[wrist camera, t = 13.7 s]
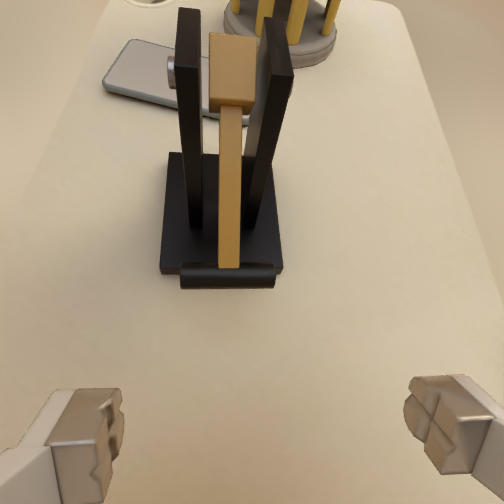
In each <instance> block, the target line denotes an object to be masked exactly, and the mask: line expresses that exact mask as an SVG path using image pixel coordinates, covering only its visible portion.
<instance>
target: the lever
mask: <svg viewBox="0 0 504 504" xmlns="http://www.w3.org/2000/svg"><path fill="white" fill-rule="evenodd" d="M256 75H257V38H256V37H249V36H239V35H230V34H220V33H209V113H217V114H219V198H218V262H182V263H181V267H180V287H181V289H264V288H274V286H275V280H276V271H275V266H274V263H272V262H239V252H240V205H241V158H242V115H246V116H248V115H249V114H250V112H251V110H252V108H253V106H254V104H255V101H256Z"/></svg>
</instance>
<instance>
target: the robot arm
mask: <svg viewBox="0 0 504 504" xmlns="http://www.w3.org/2000/svg"><path fill="white" fill-rule="evenodd" d="M409 390H410V392H411V395H410V396H409V397H408V398H407V399H406V400H405V404H404V408H403V412H404V418H405V422H406V424H407V426H408V428H409V430H410V431H411V433H412V434H413V436H414V437H416V438H417V439H419V440H420V441H422V442H423V443H424V452H425V453H426V454H427V456H428V457H429V459H430V460H431V462H432V463H433V464H434V466H435V467H436V469H437V470H438V471H439V473H440V474H441V475H450V474H471V473H472V475H471V476H473V477H474V478H475V479H477V480H478V481H479V482H480V483H482V484H483V485H484V486H485V487H487V488H488V489H489V490H491V491H492V492H493V493H494V494H496V495H497V496H498V497H499V498H501V499H502V500H503V501H504V407H503V406H501V405H500V404H499V403H498V402H497V401H496V400H495V399H494V398H492V397H491V396H490V395H489V394H488V393H487V392H486V391H484V390H483V389H482V388H481V387H480V386H479V385H478V384H477V383H475V382H474V381H473V380H472V379H471V378H470V377H468V376H466V375H464V374H454V375H441V376H419V377H413V379H412V380H411V381H410V384H409ZM121 403H122V393H121V390H120V389H119V388H89V389H57V390H56V391H54V392H53V393H52V394H51V395H50V397H49V398H48V400H47V401H46V403H45V404H44V406H43V407H42V409H41V410H40V412H39V413H38V415H37V416H36V418H35V419H34V421H33V422H32V424H31V425H30V427H29V428H28V430H27V431H26V433H25V434H24V435H23V437H22V438H21V440H20V441H19V443H18V444H17V446H16V447H15V448H8V449H6V450H5V451H3V452H2V453H0V504H102V503H104V500H105V497H106V493H107V490H108V487H109V484H110V481H111V478H112V474H113V471H112V461H113V460H114V459H115V458H116V457H117V456H118V455H119V452H120V448H121V445H122V440H123V434H124V414H123V413H122V412H121V411H120V410H119V409H120V406H121Z"/></svg>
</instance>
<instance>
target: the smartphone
mask: <svg viewBox="0 0 504 504" xmlns="http://www.w3.org/2000/svg"><path fill="white" fill-rule="evenodd" d="M174 55H175V49H172V48H169V47H165V46H161V45H157V44H153V43H150V42H146V41H142V40H138V39H132V40H129V41H128V43H127V44H126V45H125V47H124V48H123V50H122V51H121V53H120V54H119V56H118V57H117V59H116V60H115V62H114V63H113V65H112V66H111V68H110V69H109V71H108V72H107V74H106V75H105V77H104V78H103V80H102V84H103V87H104V88H105V89H106V90H107V91H110V92H114V93H118V94H122V95H126V96H130V97H134V98H138V99H142V100H146V101H150V102H154V103H158V104H162V105H166V106H169V107H173V108H177V109H178V106H177V96H176V90H173V89H170V88H169V85H168V77H167V58H168V56H174ZM201 70H202V115H205V116H209V117H213V118H217V119H219V114H217V113H209V58H207V57H203V56H201ZM249 116H250V114H249V115H248V116H246V115H242V125H248V123H249Z"/></svg>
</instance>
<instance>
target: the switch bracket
mask: <svg viewBox="0 0 504 504" xmlns="http://www.w3.org/2000/svg"><path fill="white" fill-rule="evenodd" d="M167 77H168V85H169V88H170V89H173V90H176V96H177V106H178V116H179V126H180V136H181V146H182V153H180V152H169V158H168V170H167V182H166V194H165V206H164V218H163V230H162V242H161V254H160V267H159V268H160V271H161V274H180V267H181V263H182V262H218V198H219V154H203V125H202V70H201V15H200V10H199V9H192V8H183V7H179V10H178V21H177V32H176V44H175V55H174V56H168V58H167ZM293 80H294V72H293V67H292V61H291V56H290V51H289V45H288V40H287V34H286V29H285V24H284V19H282V18H273V17H264V18H263V25H262V32H261V39H260V46H259V53H258V60H257V75H256V101H255V104H254V106H253V108H252V110H251V112H250V116H249V123H248V130H247V137H246V144H245V151H244V156H242V158H241V205H240V252H239V262H272V263H274V266H275V271H276V274H280V273H281V271H282V269H283V259H282V251H281V242H280V233H279V224H278V215H277V206H276V197H275V189H274V180H273V171H272V160H273V156H274V152H275V148H276V145H277V141H278V137H279V133H280V129H281V126H282V122H283V118H284V114H285V110H286V106H287V103H288V99H289V97H290V95H291V92H292V88H293Z"/></svg>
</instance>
